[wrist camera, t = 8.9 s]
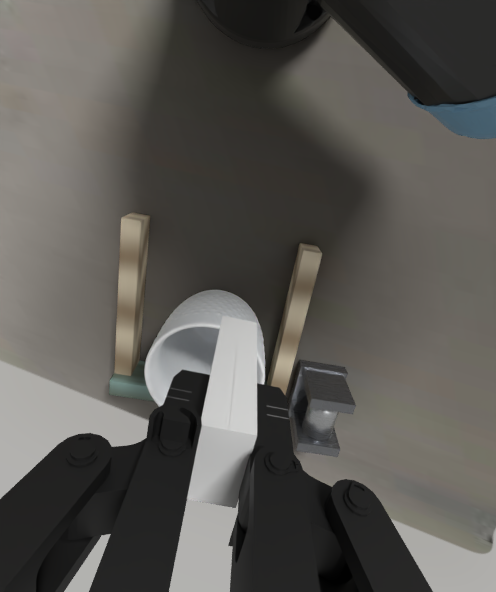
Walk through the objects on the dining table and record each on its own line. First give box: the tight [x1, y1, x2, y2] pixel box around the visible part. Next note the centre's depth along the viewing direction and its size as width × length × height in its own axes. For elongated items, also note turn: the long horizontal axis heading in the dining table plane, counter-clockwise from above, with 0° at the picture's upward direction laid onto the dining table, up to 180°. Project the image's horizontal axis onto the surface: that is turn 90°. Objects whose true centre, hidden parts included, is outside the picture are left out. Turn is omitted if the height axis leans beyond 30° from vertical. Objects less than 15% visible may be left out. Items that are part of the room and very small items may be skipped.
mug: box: [144, 290, 265, 407], centre depth 38 cm, size 15×11×13 cm
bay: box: [109, 213, 322, 402], centre depth 41 cm, size 21×21×5 cm
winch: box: [288, 360, 356, 457], centre depth 44 cm, size 8×6×8 cm
